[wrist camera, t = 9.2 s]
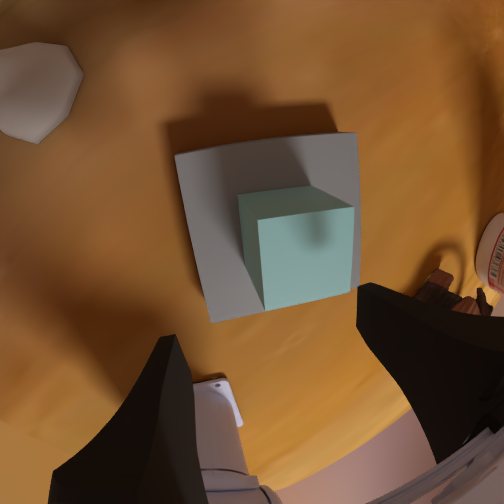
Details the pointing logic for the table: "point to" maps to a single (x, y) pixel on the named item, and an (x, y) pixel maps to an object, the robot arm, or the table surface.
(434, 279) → the brown broken pot
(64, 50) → the flask
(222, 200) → the gray base
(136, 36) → the table surface
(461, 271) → the table surface
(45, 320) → the table surface
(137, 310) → the table surface
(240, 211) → the teal block
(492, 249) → the fruit juice
